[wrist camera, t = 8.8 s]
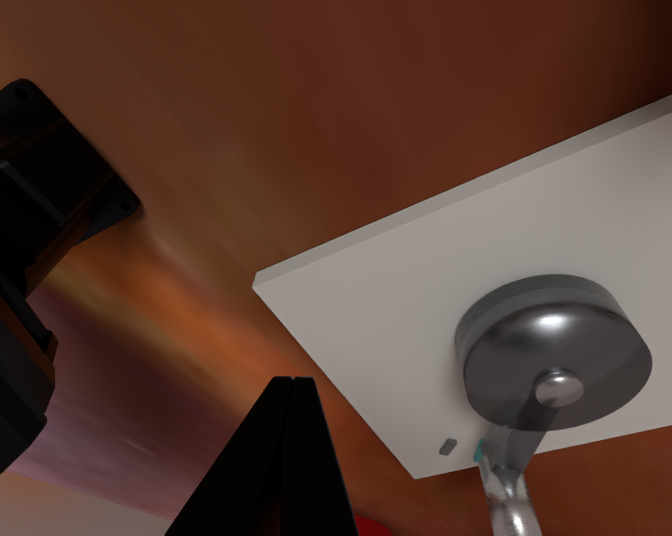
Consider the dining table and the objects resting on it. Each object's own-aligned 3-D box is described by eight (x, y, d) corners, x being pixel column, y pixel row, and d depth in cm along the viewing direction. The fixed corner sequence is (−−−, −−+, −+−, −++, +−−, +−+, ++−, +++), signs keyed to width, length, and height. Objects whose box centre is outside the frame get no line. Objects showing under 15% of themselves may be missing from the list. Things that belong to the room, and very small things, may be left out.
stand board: (413, 463, 34) (415, 483, 33) (256, 272, 23) (250, 291, 22) (733, 391, 27) (750, 413, 26) (730, 69, 16) (759, 81, 15)
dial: (474, 269, 20) (517, 399, 15) (650, 278, 20) (760, 413, 14) (425, 439, 29) (440, 560, 23) (547, 446, 29) (592, 569, 23)
